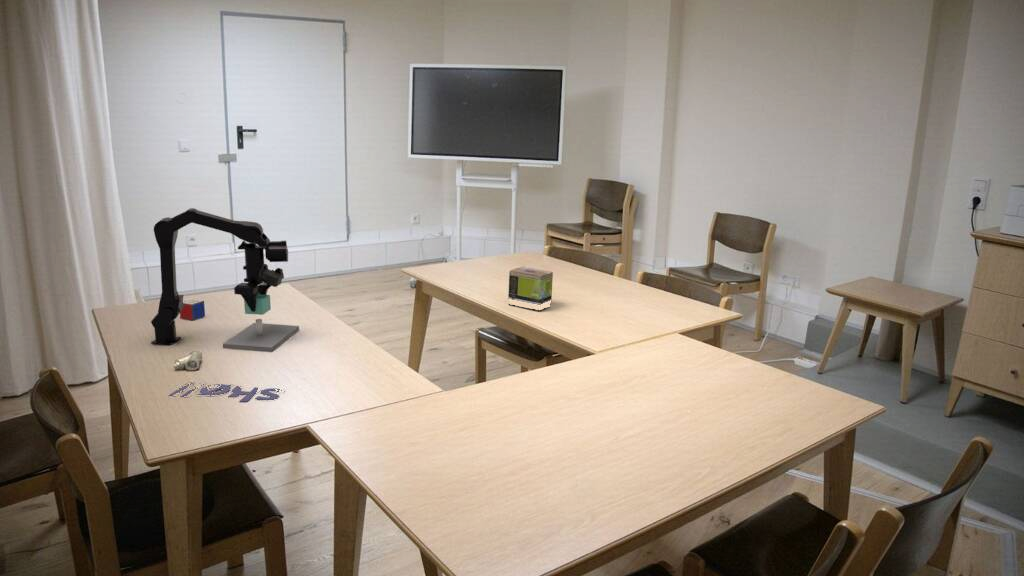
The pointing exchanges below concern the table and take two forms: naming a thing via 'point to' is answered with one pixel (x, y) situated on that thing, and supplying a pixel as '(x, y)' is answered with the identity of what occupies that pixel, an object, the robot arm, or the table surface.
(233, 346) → the peg board
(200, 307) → the puzzle
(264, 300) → the bead
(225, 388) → the signage
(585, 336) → the table surface
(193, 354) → the pipe fitting
